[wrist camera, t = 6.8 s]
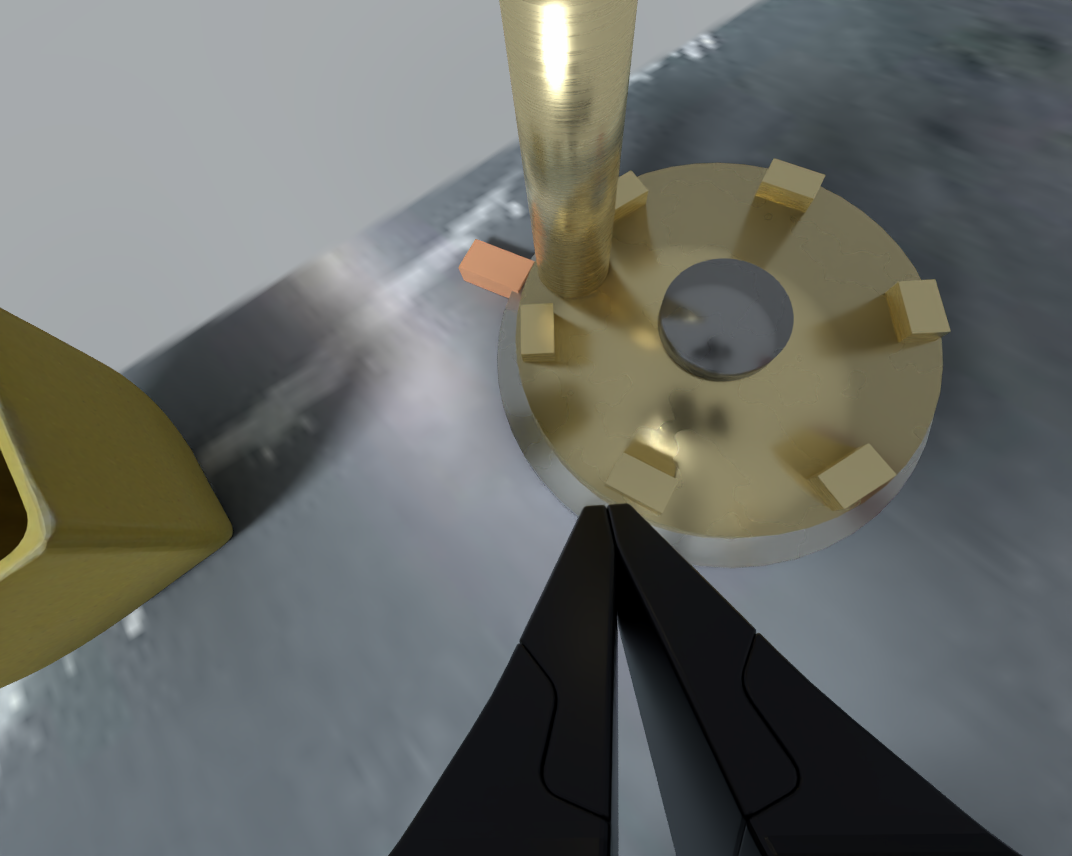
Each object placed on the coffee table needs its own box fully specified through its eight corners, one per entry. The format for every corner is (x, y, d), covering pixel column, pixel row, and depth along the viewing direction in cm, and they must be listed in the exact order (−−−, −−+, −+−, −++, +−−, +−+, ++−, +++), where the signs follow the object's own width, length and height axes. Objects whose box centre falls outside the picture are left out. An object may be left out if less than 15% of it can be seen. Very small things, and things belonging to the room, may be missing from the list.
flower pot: (299, 545, 18) (49, 538, 10) (110, 686, 17) (-351, 819, 9) (211, 389, 21) (-56, 270, 12) (40, 507, 20) (-378, 471, 11)
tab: (536, 275, 21) (534, 261, 20) (520, 303, 20) (517, 290, 19) (480, 253, 21) (475, 238, 20) (464, 280, 21) (458, 267, 20)
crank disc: (961, 270, 18) (1543, -161, 7) (826, 621, 15) (1469, 798, 4) (619, 150, 21) (664, -275, 10) (453, 422, 18) (269, 229, 7)
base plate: (872, 645, 15) (954, 671, 12) (436, 470, 18) (405, 452, 15) (954, 244, 19) (1034, 179, 16) (580, 155, 22) (580, 84, 19)
